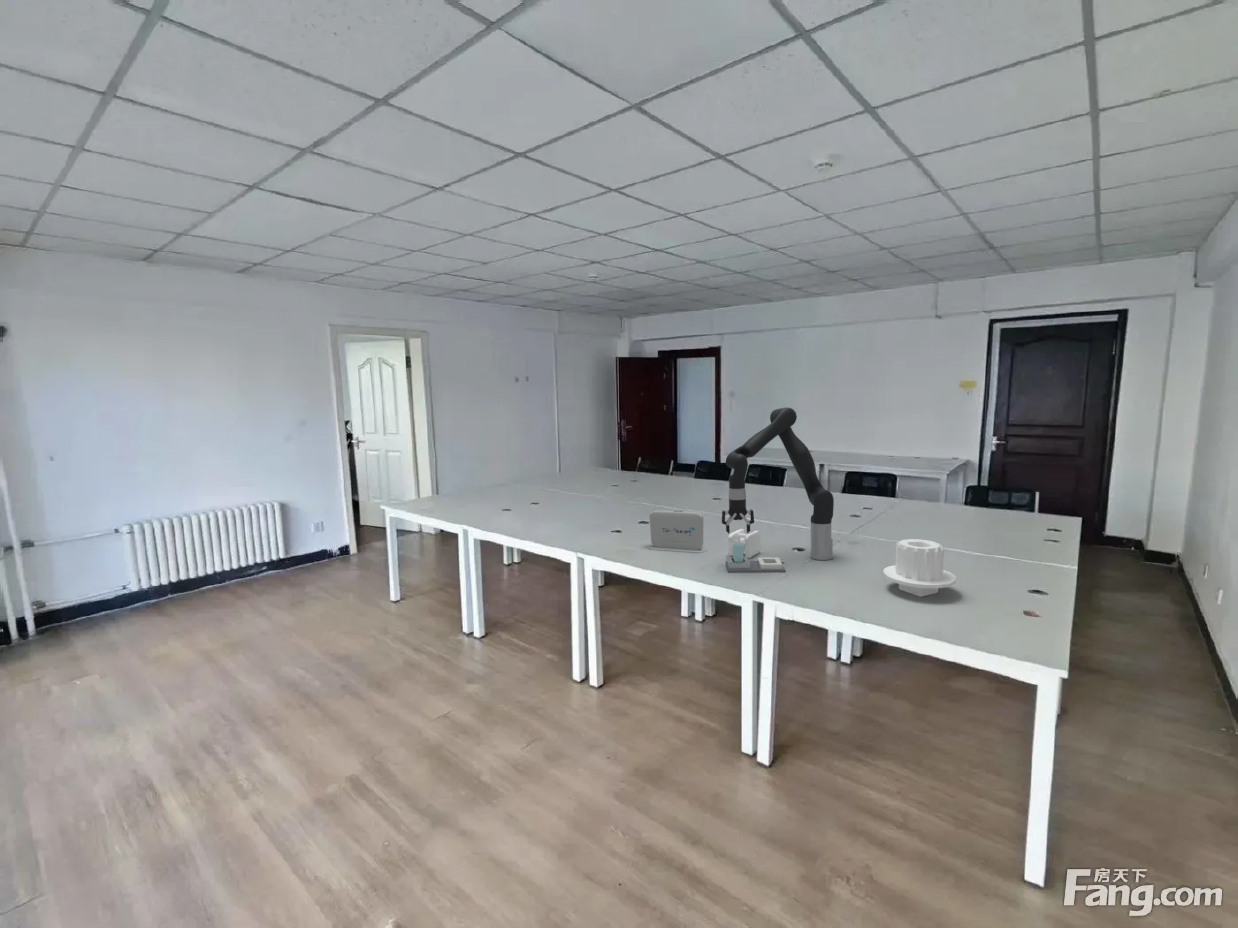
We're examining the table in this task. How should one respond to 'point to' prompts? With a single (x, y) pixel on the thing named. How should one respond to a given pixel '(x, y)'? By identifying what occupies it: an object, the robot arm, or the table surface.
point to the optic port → (738, 563)
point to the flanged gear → (919, 567)
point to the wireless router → (677, 531)
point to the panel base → (754, 568)
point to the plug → (737, 552)
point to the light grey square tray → (769, 563)
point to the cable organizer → (745, 542)
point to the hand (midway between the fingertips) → (738, 532)
